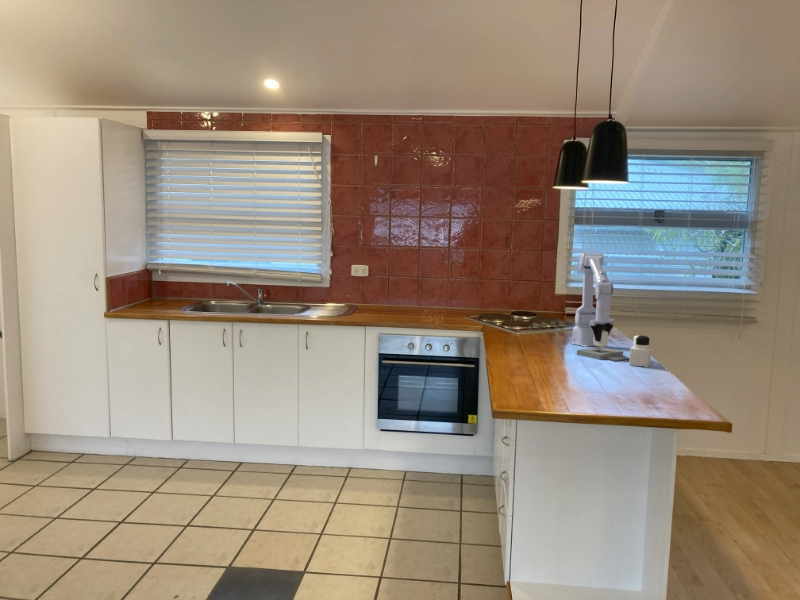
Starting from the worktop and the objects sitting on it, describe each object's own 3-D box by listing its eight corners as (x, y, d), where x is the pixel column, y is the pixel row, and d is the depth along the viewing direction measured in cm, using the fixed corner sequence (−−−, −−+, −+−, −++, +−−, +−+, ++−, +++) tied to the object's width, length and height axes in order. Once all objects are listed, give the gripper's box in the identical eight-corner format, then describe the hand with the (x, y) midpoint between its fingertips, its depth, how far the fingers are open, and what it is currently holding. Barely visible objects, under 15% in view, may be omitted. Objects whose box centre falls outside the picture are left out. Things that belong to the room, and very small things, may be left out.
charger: (593, 344, 263) (594, 328, 263) (599, 344, 266) (600, 328, 265) (601, 346, 260) (602, 330, 259) (607, 345, 262) (608, 329, 262)
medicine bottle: (650, 364, 248) (652, 335, 246) (647, 367, 241) (649, 338, 240) (632, 362, 251) (633, 333, 250) (628, 365, 245) (630, 336, 244)
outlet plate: (576, 354, 265) (576, 349, 265) (599, 350, 274) (600, 346, 274) (599, 359, 255) (599, 354, 255) (622, 355, 264) (623, 351, 264)
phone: (605, 360, 256) (606, 357, 256) (620, 358, 260) (620, 355, 260) (615, 363, 252) (615, 360, 251) (629, 361, 256) (630, 358, 256)
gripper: (600, 311, 253) (598, 343, 255) (621, 309, 262) (619, 340, 263) (586, 309, 259) (584, 341, 261) (607, 308, 267) (605, 338, 269)
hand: (601, 340), depth 262 cm, fingers closed on charger, 4 cm apart
